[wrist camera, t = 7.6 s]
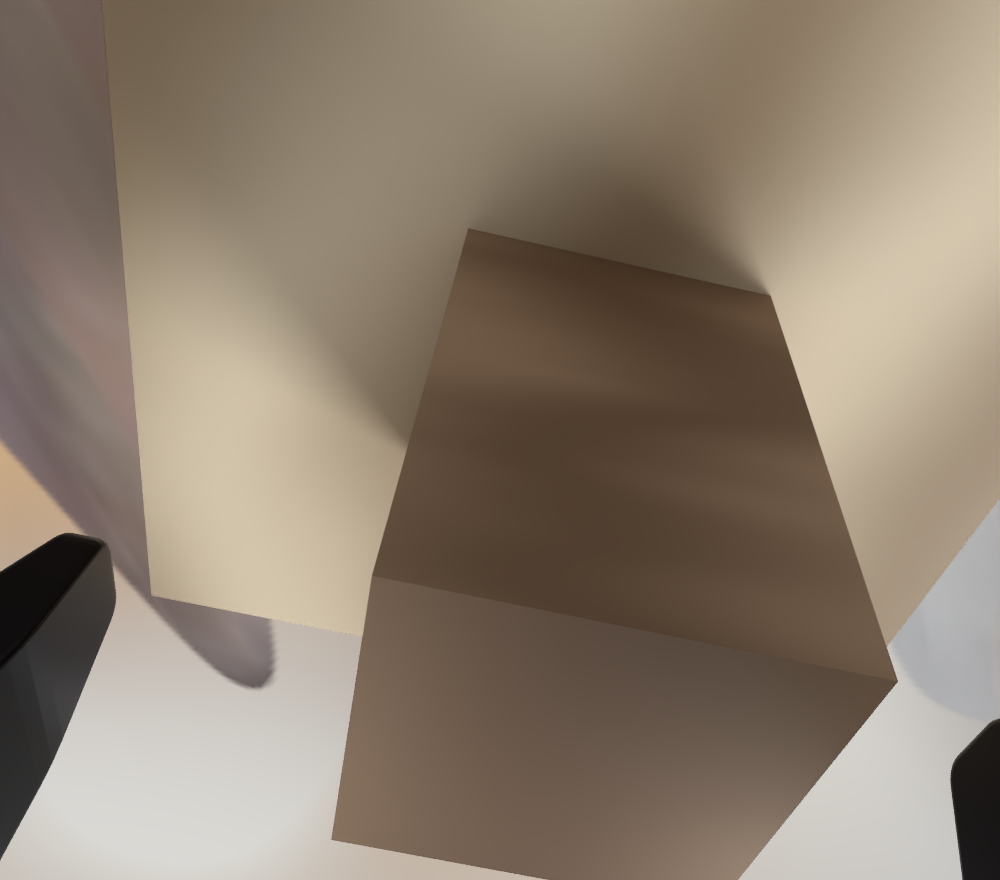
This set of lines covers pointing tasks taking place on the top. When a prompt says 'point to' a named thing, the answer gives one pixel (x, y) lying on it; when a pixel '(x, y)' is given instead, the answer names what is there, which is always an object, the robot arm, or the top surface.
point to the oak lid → (567, 385)
